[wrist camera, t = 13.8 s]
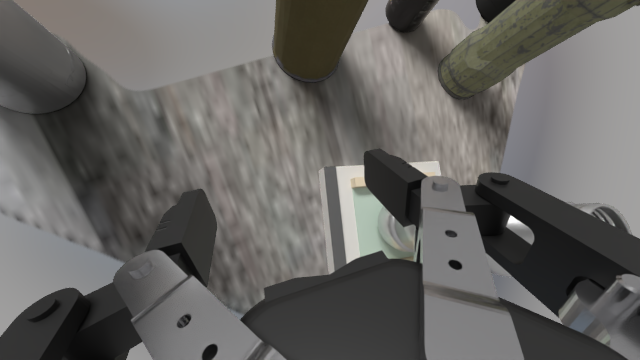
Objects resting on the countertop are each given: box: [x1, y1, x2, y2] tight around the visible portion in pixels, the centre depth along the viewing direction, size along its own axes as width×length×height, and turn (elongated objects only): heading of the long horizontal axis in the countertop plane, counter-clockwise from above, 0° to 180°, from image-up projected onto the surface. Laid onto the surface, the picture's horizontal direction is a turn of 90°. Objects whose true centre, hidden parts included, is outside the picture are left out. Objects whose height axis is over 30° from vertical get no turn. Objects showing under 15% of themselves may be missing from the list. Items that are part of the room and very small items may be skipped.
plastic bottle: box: [378, 202, 632, 277], centre depth 21 cm, size 6×7×20 cm
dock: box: [318, 161, 441, 274], centre depth 32 cm, size 18×16×4 cm
